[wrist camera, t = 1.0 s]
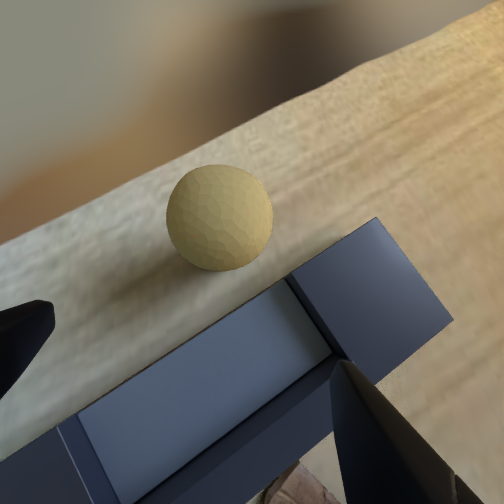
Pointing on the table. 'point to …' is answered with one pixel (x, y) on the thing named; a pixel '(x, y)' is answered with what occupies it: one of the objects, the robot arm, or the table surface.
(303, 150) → the table surface
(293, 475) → the fossil slab
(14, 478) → the storage tray
